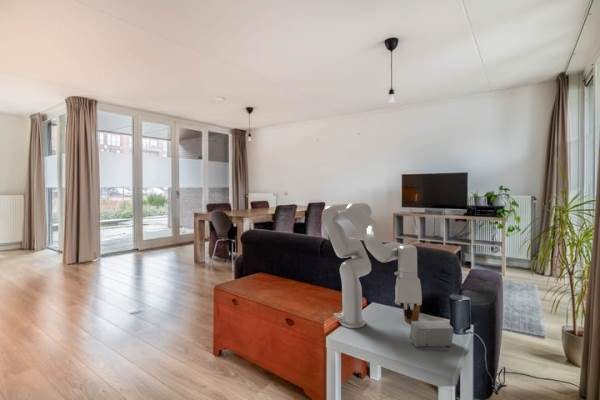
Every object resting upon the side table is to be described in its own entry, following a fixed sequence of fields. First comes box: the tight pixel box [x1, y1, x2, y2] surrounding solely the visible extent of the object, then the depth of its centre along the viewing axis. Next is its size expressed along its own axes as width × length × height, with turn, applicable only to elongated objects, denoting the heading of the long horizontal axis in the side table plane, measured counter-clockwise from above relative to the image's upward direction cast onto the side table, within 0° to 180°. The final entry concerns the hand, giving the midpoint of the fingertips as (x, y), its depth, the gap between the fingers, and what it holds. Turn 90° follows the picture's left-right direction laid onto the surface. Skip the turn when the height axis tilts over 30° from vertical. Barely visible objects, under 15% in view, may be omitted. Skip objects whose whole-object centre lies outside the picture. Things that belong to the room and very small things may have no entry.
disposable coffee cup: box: [402, 303, 421, 325], centre depth 150 cm, size 10×10×12 cm
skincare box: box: [409, 319, 454, 348], centre depth 128 cm, size 8×7×16 cm
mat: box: [416, 346, 449, 352], centre depth 129 cm, size 12×12×1 cm
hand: (408, 317), depth 127 cm, fingers closed
